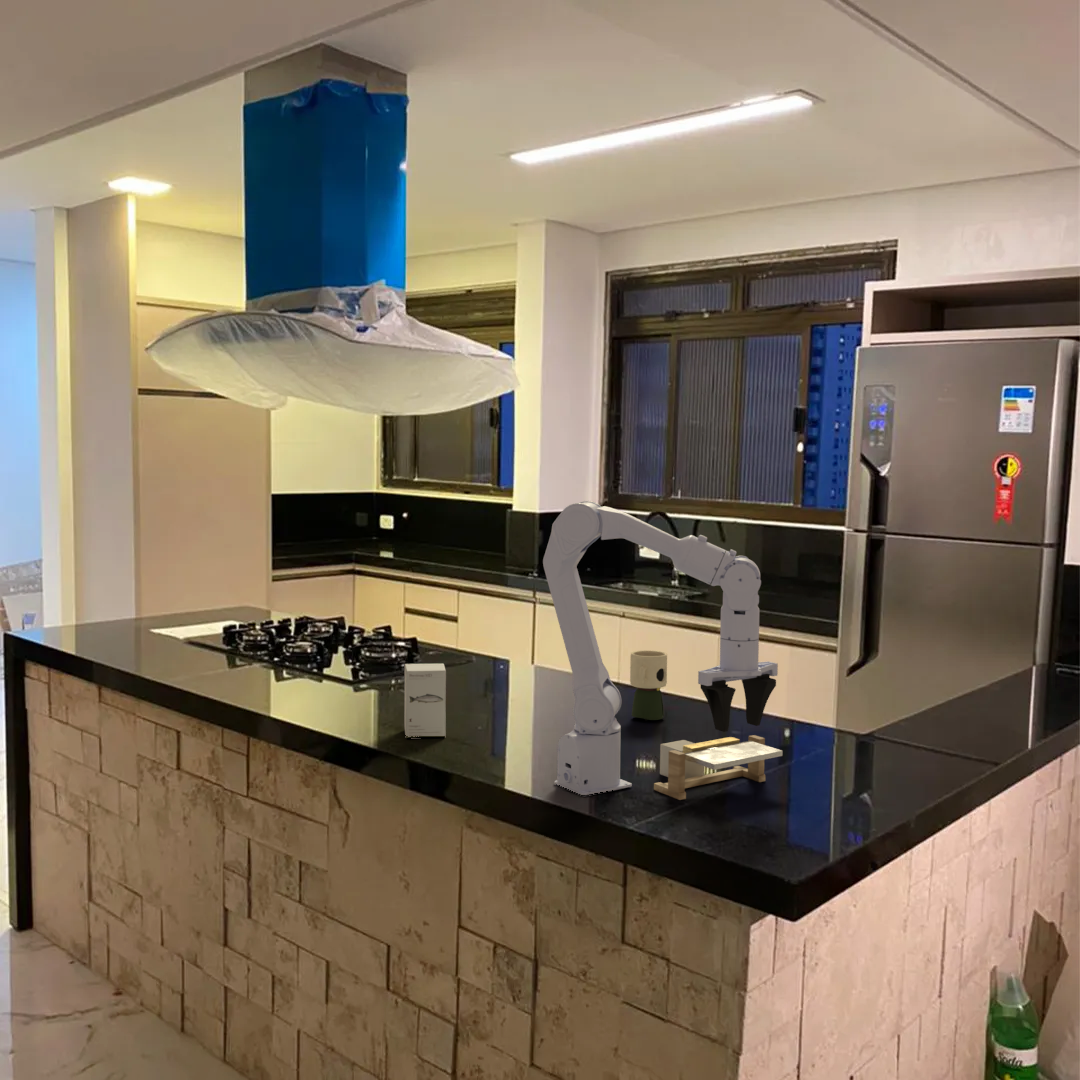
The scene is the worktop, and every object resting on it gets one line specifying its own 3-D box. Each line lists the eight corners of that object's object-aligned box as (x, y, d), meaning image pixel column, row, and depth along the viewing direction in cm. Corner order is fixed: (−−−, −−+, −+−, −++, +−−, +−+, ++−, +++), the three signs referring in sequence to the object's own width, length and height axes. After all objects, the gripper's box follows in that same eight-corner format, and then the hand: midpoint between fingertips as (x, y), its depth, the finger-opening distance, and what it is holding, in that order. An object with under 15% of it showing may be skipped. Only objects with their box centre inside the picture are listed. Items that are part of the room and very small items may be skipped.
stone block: (680, 782, 171) (680, 751, 171) (659, 774, 176) (660, 744, 175) (704, 777, 174) (704, 746, 174) (683, 769, 178) (683, 739, 178)
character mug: (659, 727, 206) (660, 659, 205) (622, 724, 208) (623, 656, 207) (671, 714, 216) (673, 650, 215) (637, 711, 218) (638, 647, 217)
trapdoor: (713, 772, 158) (713, 762, 158) (671, 758, 166) (672, 747, 166) (783, 758, 166) (783, 747, 166) (740, 744, 174) (740, 734, 174)
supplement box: (405, 740, 195) (405, 670, 194) (404, 729, 203) (403, 662, 202) (446, 738, 197) (446, 669, 196) (443, 728, 204) (443, 662, 203)
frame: (679, 800, 162) (680, 755, 162) (653, 789, 167) (654, 746, 167) (765, 781, 172) (766, 738, 172) (738, 771, 177) (739, 730, 177)
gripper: (722, 646, 156) (720, 739, 157) (793, 637, 164) (791, 726, 165) (689, 639, 162) (687, 729, 163) (759, 631, 170) (757, 717, 171)
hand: (737, 727), depth 164 cm, fingers open, 6 cm apart
